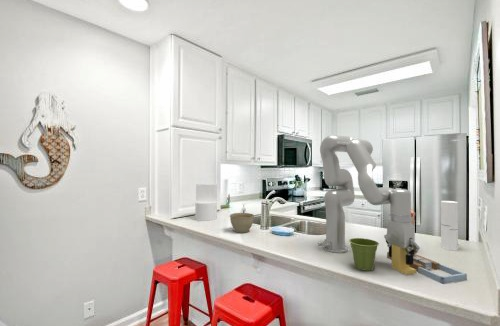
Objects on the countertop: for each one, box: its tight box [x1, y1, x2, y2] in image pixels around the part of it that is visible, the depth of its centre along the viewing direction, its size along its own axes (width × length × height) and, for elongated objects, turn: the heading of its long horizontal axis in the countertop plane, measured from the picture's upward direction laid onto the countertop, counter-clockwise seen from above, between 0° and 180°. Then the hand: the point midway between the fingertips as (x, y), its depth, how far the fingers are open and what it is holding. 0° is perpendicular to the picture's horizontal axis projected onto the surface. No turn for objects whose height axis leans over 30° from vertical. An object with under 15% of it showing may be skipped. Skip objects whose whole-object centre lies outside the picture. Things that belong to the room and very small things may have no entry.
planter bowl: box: [229, 212, 255, 234], centre depth 168 cm, size 16×16×11 cm
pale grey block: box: [413, 256, 423, 264], centre depth 109 cm, size 3×3×3 cm
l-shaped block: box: [391, 245, 418, 276], centre depth 104 cm, size 5×7×11 cm
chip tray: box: [417, 263, 468, 285], centre depth 99 cm, size 12×10×3 cm
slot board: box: [386, 251, 440, 273], centre depth 112 cm, size 11×16×4 cm, turn 15°
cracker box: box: [409, 208, 416, 251], centre depth 132 cm, size 14×6×21 cm, turn 154°
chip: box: [419, 259, 433, 271], centre depth 106 cm, size 3×3×3 cm
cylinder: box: [194, 183, 218, 222], centre depth 206 cm, size 17×17×28 cm
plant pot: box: [348, 237, 380, 272], centre depth 109 cm, size 12×12×11 cm
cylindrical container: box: [440, 200, 459, 252], centre depth 135 cm, size 7×7×25 cm
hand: (400, 260), depth 105 cm, fingers open, 8 cm apart
